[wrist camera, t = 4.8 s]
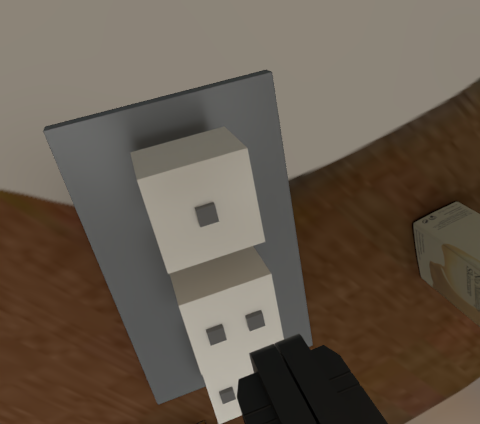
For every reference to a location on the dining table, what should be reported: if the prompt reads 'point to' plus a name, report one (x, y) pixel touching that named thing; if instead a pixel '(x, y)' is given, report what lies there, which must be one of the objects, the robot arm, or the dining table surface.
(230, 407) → the key
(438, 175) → the dining table surface
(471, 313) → the skincare box
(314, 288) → the dining table surface
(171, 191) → the key
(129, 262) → the grey rectangular board
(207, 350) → the key
